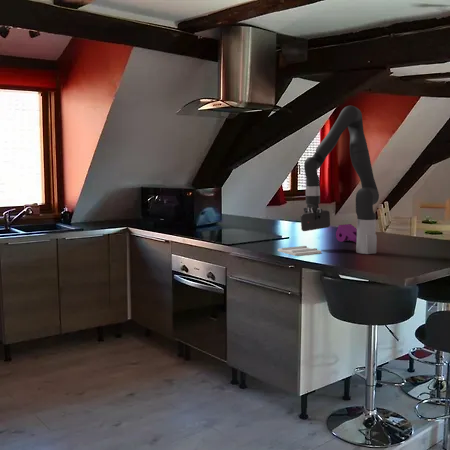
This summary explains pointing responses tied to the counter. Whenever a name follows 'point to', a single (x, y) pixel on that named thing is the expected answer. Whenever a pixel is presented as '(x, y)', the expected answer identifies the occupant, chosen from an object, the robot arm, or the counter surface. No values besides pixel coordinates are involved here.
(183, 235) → the counter surface
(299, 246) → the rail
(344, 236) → the mounting bracket
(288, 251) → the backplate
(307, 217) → the leaning round-cornered charcoal block
